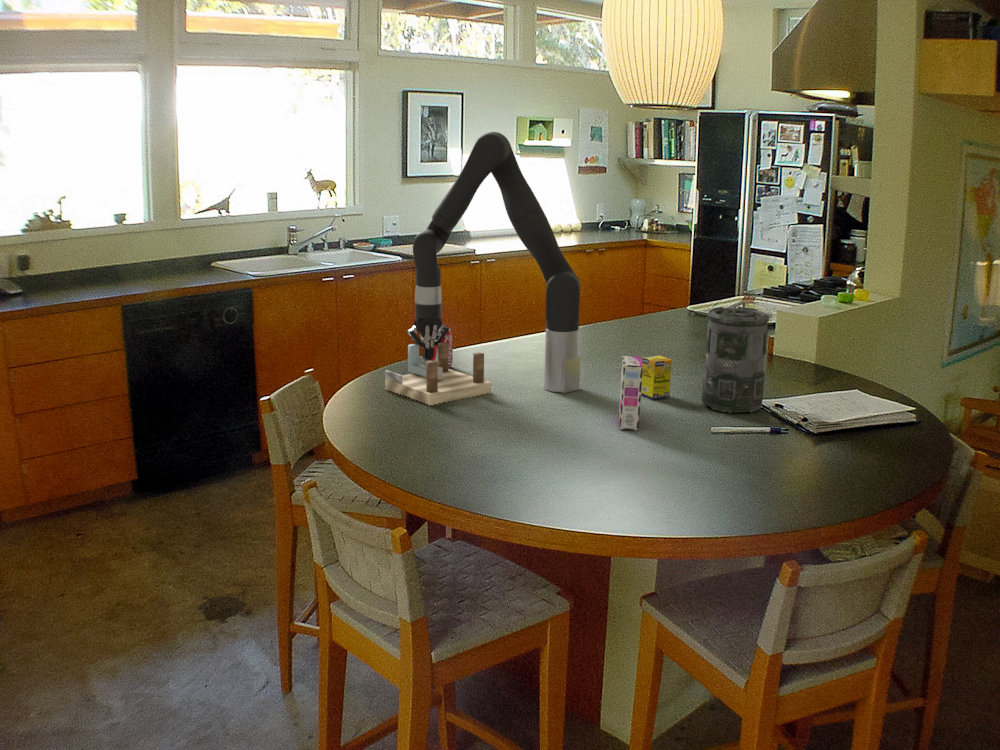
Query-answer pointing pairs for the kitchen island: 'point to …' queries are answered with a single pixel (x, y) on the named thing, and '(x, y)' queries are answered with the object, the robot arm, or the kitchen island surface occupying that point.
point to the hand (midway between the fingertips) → (428, 359)
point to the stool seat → (440, 381)
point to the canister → (735, 359)
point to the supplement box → (656, 377)
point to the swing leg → (414, 362)
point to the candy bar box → (630, 393)
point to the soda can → (449, 340)
